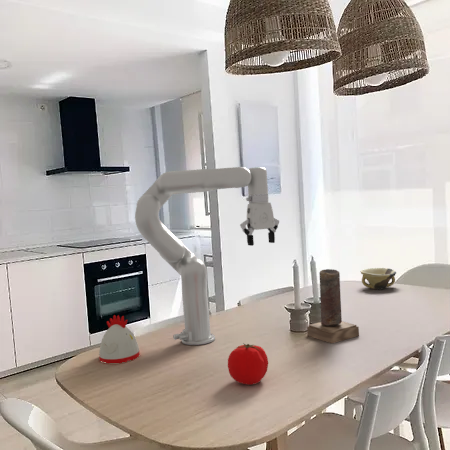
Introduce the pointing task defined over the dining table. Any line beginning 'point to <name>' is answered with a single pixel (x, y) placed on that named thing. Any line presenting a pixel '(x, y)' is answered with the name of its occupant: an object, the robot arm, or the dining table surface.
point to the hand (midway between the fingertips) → (261, 244)
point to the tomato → (248, 364)
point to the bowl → (378, 277)
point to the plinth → (333, 332)
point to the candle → (330, 297)
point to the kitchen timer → (118, 343)
